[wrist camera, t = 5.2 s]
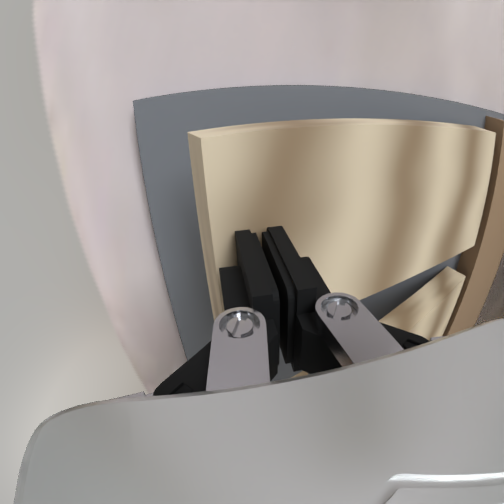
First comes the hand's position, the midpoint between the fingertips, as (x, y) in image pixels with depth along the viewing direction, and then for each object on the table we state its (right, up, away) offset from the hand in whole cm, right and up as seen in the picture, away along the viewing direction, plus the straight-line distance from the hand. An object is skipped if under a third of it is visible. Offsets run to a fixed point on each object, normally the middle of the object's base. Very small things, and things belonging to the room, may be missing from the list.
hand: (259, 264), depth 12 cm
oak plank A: (+7, +3, +4) cm, 9 cm away
